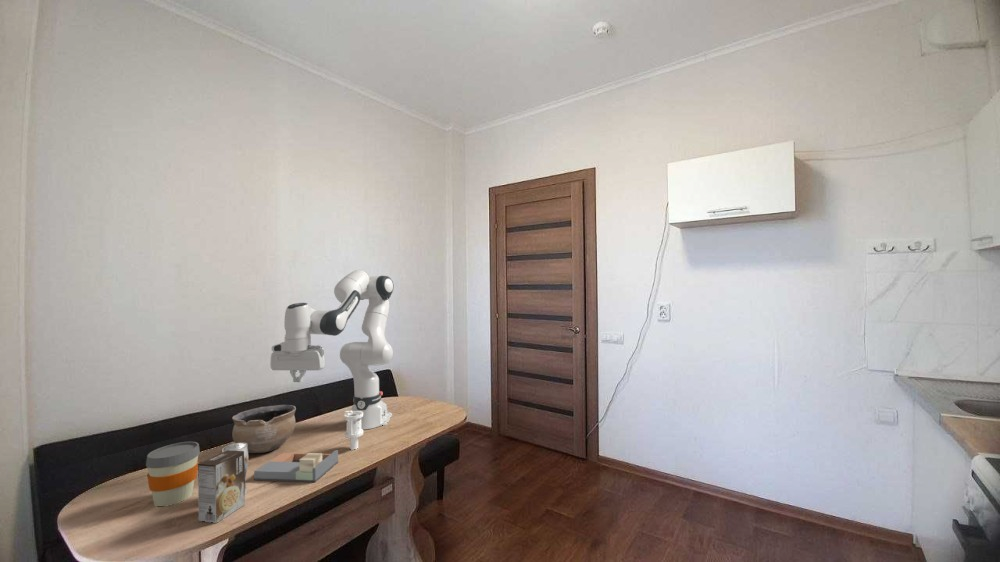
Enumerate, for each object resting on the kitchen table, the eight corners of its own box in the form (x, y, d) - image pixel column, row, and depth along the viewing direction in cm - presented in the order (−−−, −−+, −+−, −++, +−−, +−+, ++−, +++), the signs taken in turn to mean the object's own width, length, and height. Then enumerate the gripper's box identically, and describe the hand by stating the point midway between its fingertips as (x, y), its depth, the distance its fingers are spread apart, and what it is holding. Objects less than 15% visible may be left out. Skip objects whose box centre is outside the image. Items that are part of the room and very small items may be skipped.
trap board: (282, 460, 138) (282, 448, 138) (338, 462, 136) (338, 450, 136) (254, 480, 124) (254, 466, 124) (315, 482, 122) (315, 468, 122)
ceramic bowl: (224, 465, 135) (224, 424, 135) (238, 443, 155) (238, 407, 155) (293, 453, 144) (293, 415, 145) (298, 434, 164) (298, 400, 164)
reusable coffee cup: (172, 487, 120) (172, 441, 121) (210, 487, 120) (210, 441, 120) (133, 510, 108) (133, 459, 108) (174, 510, 107) (174, 458, 108)
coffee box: (227, 502, 111) (227, 449, 111) (245, 504, 110) (245, 450, 110) (197, 521, 102) (197, 463, 102) (216, 524, 101) (216, 465, 101)
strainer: (349, 444, 151) (349, 408, 152) (366, 444, 151) (366, 408, 152) (341, 452, 144) (341, 413, 145) (359, 452, 144) (358, 413, 145)
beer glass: (224, 492, 117) (224, 444, 117) (250, 487, 120) (250, 440, 120) (218, 503, 111) (218, 453, 111) (245, 498, 113) (245, 448, 114)
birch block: (308, 464, 128) (308, 453, 128) (322, 464, 128) (322, 453, 128) (299, 471, 123) (299, 459, 123) (313, 472, 123) (313, 460, 123)
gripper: (328, 344, 143) (328, 379, 142) (279, 344, 145) (279, 379, 144) (318, 346, 136) (318, 384, 136) (267, 346, 139) (267, 383, 138)
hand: (298, 381), depth 140 cm, fingers closed
